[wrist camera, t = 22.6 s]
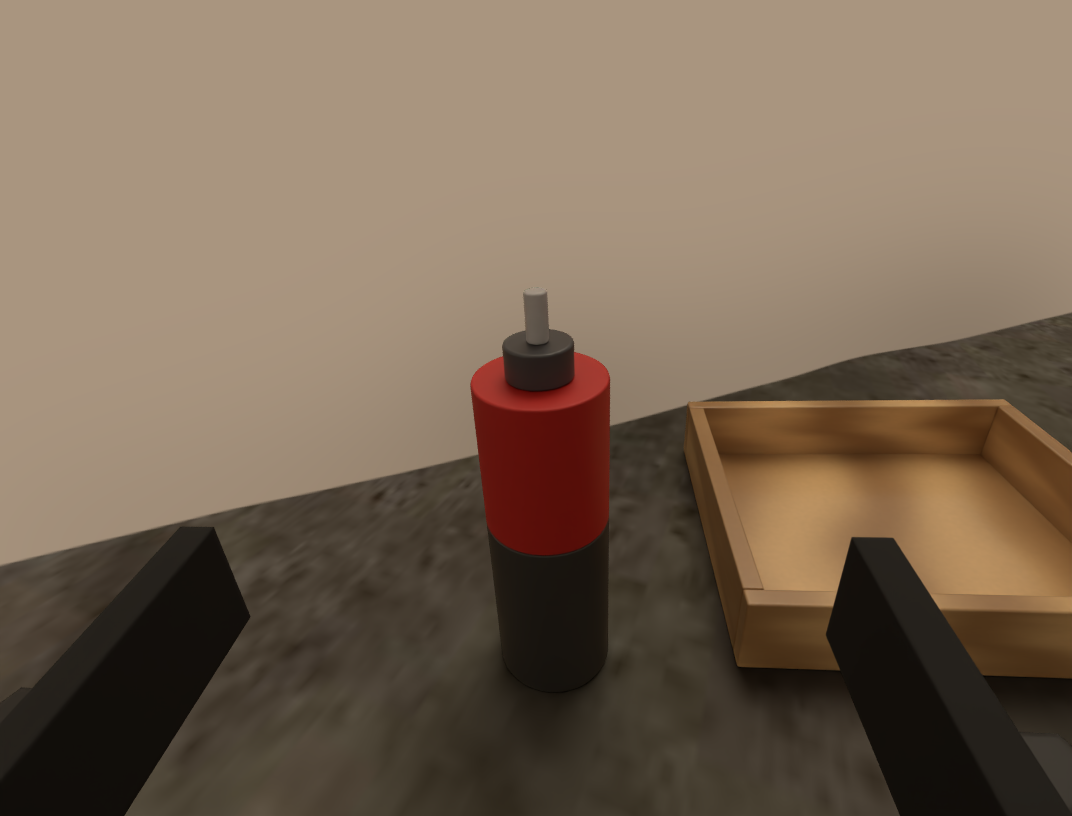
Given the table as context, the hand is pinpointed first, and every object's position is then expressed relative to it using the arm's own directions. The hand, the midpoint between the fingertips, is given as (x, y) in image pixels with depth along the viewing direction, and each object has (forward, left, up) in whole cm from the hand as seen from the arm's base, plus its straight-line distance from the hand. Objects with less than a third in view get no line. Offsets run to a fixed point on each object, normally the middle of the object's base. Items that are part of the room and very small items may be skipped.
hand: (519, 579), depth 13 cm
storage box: (-16, -15, -11) cm, 25 cm away
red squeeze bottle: (0, -8, -11) cm, 14 cm away
